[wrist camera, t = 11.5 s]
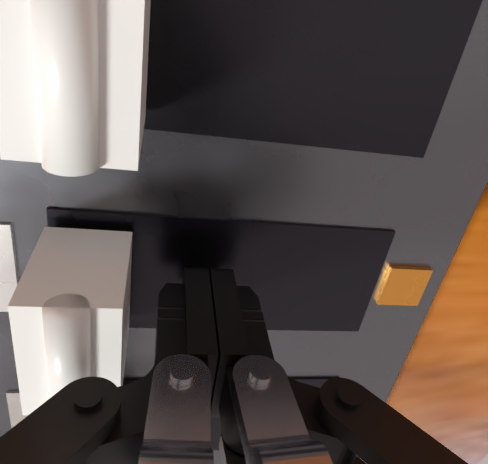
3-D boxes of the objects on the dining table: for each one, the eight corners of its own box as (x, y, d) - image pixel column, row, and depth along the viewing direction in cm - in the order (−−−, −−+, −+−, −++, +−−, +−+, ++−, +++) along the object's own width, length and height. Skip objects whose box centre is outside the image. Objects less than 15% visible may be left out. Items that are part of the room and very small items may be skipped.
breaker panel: (-124, -438, 8) (-212, -558, 6) (604, -207, 11) (690, -240, 9) (20, 478, 22) (6, 526, 20) (328, 463, 25) (341, 503, 23)
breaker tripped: (44, 226, 13) (-1, 321, 9) (132, 231, 13) (120, 324, 10) (52, 323, 14) (16, 432, 11) (129, 325, 15) (118, 430, 12)
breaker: (32, -70, 9) (-43, -85, 6) (153, -47, 10) (145, -51, 6) (44, 106, 11) (-10, 170, 8) (145, 117, 11) (136, 182, 8)
